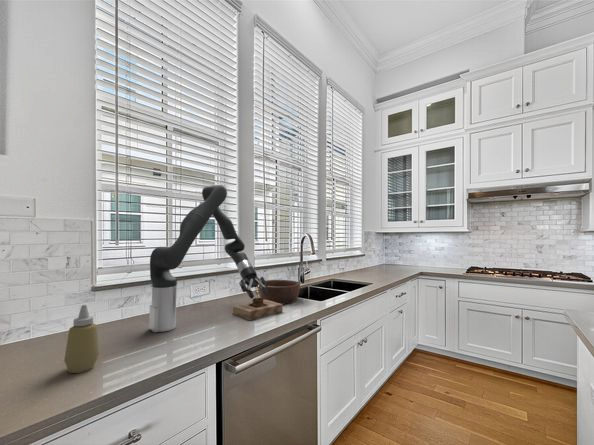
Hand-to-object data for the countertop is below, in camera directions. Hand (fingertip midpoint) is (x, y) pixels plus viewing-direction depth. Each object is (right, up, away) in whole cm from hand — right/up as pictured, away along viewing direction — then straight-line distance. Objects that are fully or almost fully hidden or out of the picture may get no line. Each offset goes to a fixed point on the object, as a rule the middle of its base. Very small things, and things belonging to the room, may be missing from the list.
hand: (259, 296), depth 141 cm
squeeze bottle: (-44, -6, -59) cm, 73 cm away
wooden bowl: (+7, -10, +29) cm, 31 cm away
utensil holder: (-1, -9, +1) cm, 9 cm away
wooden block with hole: (-1, -8, +1) cm, 9 cm away
